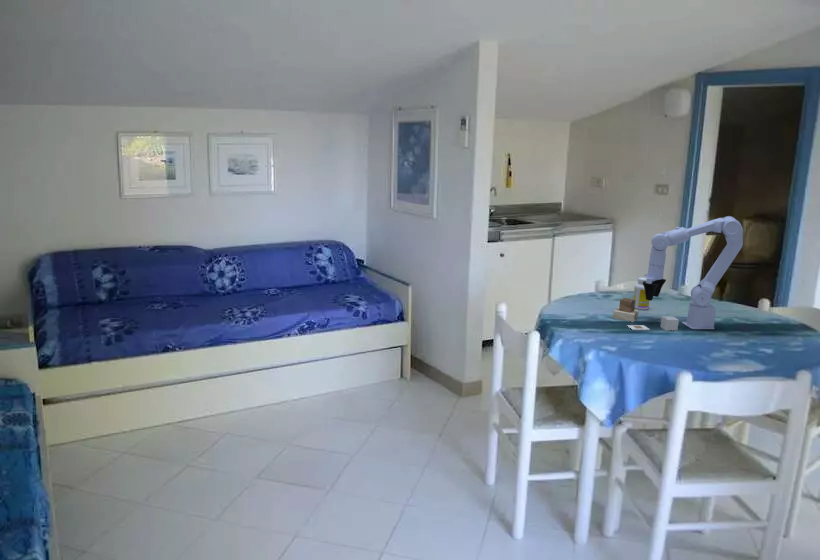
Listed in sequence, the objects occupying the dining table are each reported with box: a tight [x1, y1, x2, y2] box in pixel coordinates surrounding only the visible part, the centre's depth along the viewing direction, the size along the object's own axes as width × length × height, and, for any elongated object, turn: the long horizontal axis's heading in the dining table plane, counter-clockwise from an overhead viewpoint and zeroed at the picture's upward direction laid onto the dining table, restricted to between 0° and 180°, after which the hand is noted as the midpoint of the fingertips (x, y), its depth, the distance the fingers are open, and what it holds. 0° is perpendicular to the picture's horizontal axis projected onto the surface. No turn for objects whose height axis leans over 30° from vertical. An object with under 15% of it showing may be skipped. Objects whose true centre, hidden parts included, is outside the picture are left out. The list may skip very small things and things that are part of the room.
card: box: [626, 324, 650, 331], centre depth 253 cm, size 7×5×1 cm
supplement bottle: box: [632, 277, 650, 311], centre depth 279 cm, size 7×7×13 cm
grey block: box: [660, 315, 680, 332], centre depth 253 cm, size 4×4×4 cm
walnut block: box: [618, 297, 636, 313], centre depth 265 cm, size 4×4×4 cm
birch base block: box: [612, 306, 640, 323], centre depth 265 cm, size 8×8×4 cm
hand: (652, 298), depth 261 cm, fingers open, 7 cm apart
